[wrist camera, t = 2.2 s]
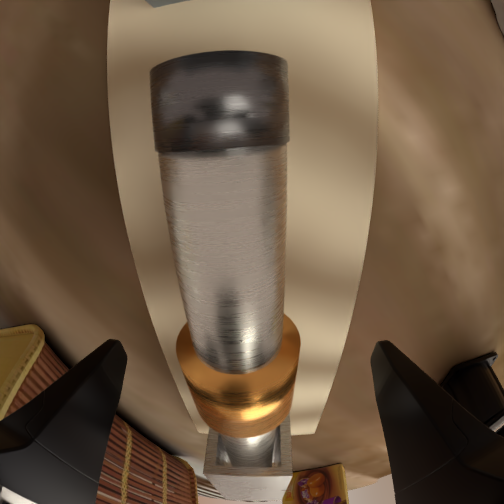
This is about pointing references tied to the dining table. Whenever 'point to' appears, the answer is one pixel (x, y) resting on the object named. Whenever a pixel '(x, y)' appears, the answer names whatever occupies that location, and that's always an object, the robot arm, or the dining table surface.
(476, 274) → the dining table surface
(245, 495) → the sleeve
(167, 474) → the picnic basket
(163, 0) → the socket
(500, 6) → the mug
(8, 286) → the dining table surface
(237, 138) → the tube
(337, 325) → the board
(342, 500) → the candy box
